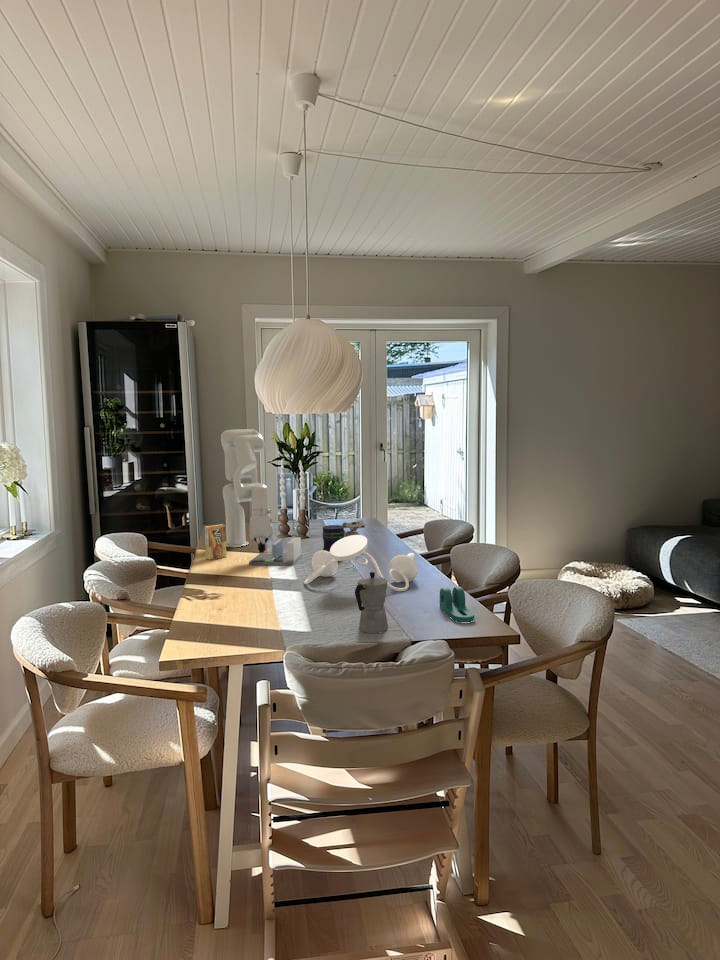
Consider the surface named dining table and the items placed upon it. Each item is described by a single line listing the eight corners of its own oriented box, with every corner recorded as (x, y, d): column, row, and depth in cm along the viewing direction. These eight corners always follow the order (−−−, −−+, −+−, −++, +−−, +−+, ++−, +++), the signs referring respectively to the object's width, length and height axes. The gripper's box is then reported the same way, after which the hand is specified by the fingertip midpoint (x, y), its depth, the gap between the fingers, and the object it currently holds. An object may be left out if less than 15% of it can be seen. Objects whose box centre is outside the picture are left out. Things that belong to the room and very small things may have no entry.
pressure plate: (279, 553, 316) (278, 539, 315) (282, 553, 316) (282, 539, 315) (271, 560, 302) (270, 545, 301) (274, 560, 301) (274, 545, 301)
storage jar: (333, 562, 304) (332, 529, 302) (318, 559, 310) (317, 527, 309) (349, 558, 311) (348, 526, 309) (334, 556, 317) (333, 524, 316)
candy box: (222, 555, 323) (221, 524, 322) (227, 557, 320) (225, 525, 318) (205, 558, 318) (204, 526, 316) (209, 560, 314) (208, 527, 313)
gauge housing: (260, 556, 320) (259, 536, 319) (302, 556, 318) (301, 536, 317) (249, 565, 303) (248, 544, 302) (293, 565, 300) (292, 544, 299)
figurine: (368, 552, 323) (368, 521, 322) (344, 554, 321) (344, 522, 319) (364, 548, 332) (363, 518, 330) (341, 550, 330) (340, 519, 328)
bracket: (439, 608, 232) (439, 586, 231) (458, 607, 233) (458, 584, 232) (457, 624, 214) (456, 600, 214) (477, 623, 216) (477, 598, 215)
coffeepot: (373, 620, 220) (372, 565, 218) (397, 625, 214) (396, 569, 212) (344, 634, 208) (342, 576, 206) (369, 639, 202) (368, 580, 200)
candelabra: (398, 559, 240) (424, 521, 273) (283, 554, 256) (321, 518, 289) (402, 611, 246) (427, 567, 279) (290, 602, 262) (326, 562, 295)
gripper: (278, 511, 312) (279, 550, 314) (246, 511, 314) (248, 550, 315) (274, 513, 304) (275, 554, 306) (242, 513, 306) (243, 553, 308)
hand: (261, 552), depth 311 cm, fingers closed
